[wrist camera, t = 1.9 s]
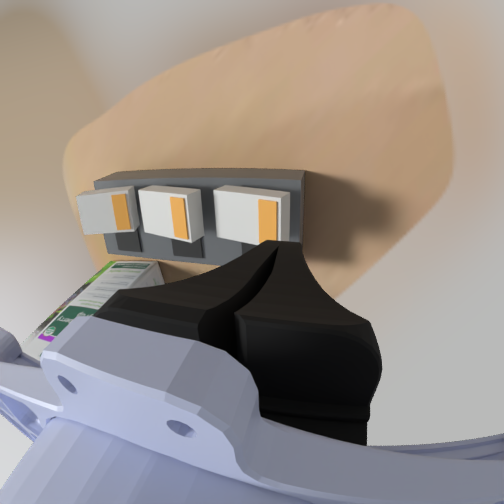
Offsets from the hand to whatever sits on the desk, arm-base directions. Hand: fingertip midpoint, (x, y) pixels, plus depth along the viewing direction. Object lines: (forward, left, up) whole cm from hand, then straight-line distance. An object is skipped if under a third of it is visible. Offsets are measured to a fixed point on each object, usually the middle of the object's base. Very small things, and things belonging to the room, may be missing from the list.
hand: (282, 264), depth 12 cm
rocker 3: (0, +3, -5) cm, 6 cm away
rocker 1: (0, +13, -5) cm, 14 cm away
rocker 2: (0, +8, -5) cm, 9 cm away
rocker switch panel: (-1, +8, -10) cm, 12 cm away
